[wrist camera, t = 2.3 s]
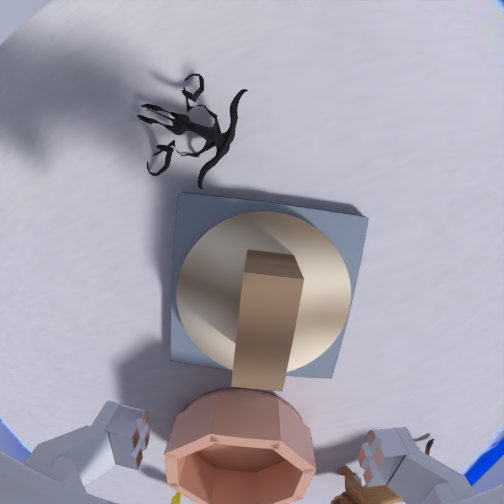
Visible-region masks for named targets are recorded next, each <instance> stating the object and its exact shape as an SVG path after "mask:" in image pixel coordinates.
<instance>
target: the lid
mask: <svg viewBox="0 0 504 504" xmlns="http://www.w3.org/2000/svg"><path fill="white" fill-rule="evenodd" d="M176 297H177V307H178V312H179V316H180V319H181V322H182V324H183V326H184V328H185V330H186V332H187V334H188V335H189V337H190V338H191V340H192V341H193V342H194V344H195V345H196V346H197V347H198V348H199V349H200V350H201V351H202V352H203V353H204V354H205V355H206V356H208V357H209V358H211V359H212V360H213V361H215V362H217V363H219V364H220V365H222V366H224V367H227V368H229V369H231V370H233V372H232V381H231V386H232V387H241V388H250V389H260V390H271V391H283V386H284V381H285V377H286V372H289V371H292V370H295V369H297V368H300V367H302V366H304V365H306V364H308V363H310V362H311V361H313V360H315V359H316V358H317V357H319V356H320V355H321V354H323V353H324V352H325V351H326V350H327V349H328V348H329V347H330V346H331V344H332V343H333V342H334V341H335V340H336V338H337V337H338V335H339V333H340V332H341V330H342V328H343V326H344V324H345V322H346V319H347V316H348V312H349V308H350V302H351V286H350V278H349V275H348V271H347V268H346V265H345V263H344V261H343V258H342V257H341V255H340V253H339V252H338V250H337V249H336V247H335V246H334V245H333V244H332V243H331V241H330V240H329V239H328V238H327V237H326V236H325V235H324V234H322V233H321V232H320V231H319V230H318V229H317V228H315V227H314V226H312V225H311V224H309V223H307V222H305V221H303V220H301V219H299V218H297V217H294V216H291V215H288V214H284V213H279V212H270V211H258V212H249V213H244V214H240V215H237V216H234V217H231V218H228V219H226V220H225V221H223V222H221V223H219V224H217V225H216V226H214V227H213V228H211V229H210V230H209V231H208V232H206V233H205V234H204V235H203V236H202V237H201V238H200V239H199V240H198V241H197V243H196V244H195V245H194V246H193V247H192V249H191V250H190V252H189V253H188V255H187V257H186V258H185V260H184V262H183V265H182V267H181V270H180V273H179V277H178V281H177V290H176Z"/></svg>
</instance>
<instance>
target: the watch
mask: <svg viewBox="0 0 504 504" xmlns="http://www.w3.org/2000/svg"><path fill="white" fill-rule="evenodd" d="M181 496H182V494H181V493H179V492H177V494H176V495H175V496H174V497H173V499H172V502H171V504H179V503H180V497H181Z"/></svg>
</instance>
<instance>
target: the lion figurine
mask: <svg viewBox="0 0 504 504" xmlns="http://www.w3.org/2000/svg"><path fill="white" fill-rule="evenodd" d="M433 441H434V439H431V440H429V441H428V443H427V445H426V449H425V454H427V455H429V452H430V448H431V446H432V444H433ZM420 453H422V452H421V451H420ZM339 474H340V475H345V489H346V492H343V493H342V494H341V495H340V496H336V497H335V498H334V500H332V501H331V504H394V503H397V502H403V500H402V499H401V498H400V497H398V496H397V495H396V494H395V493H394V492H393V491H392V490H391V489H389V488H388V487H387V485H382V486H372V487H367V485H365V486H363V487H362V484H361V478H359V476H357V475H353V472H352V471H351V470H350V469H349V468H347V467H343V468H341V469H339Z"/></svg>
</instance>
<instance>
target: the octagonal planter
mask: <svg viewBox="0 0 504 504" xmlns="http://www.w3.org/2000/svg"><path fill="white" fill-rule="evenodd" d="M164 457H165V466H166V475H167V484H168V486H170V487H171V488H173V489H174V490H176V491H178V492H179V493H181V494H182V495H184V496H186V497H187V498H189V499H191V500H192V501H194V502H196V503H197V504H290V503H292V502H295V501H298V500H300V499H303V497H304V495H305V493H306V491H307V489H308V487H309V484H310V482H311V480H312V478H313V476H314V474H315V472H316V469H317V468H316V462H315V456H314V450H313V444H312V438H311V432H310V429H309V428H308V427H307V426H306V425H305V424H304V423H303V421H302V418H301V416H300V415H299V413H298V412H297V411H296V410H295V408H294V407H292V406H291V405H290V404H289V403H287V402H286V401H284V400H283V399H281V398H279V397H277V396H275V395H272V394H269V393H266V392H262V391H258V390H252V389H240V388H237V389H223V390H218V391H213V392H210V393H207V394H205V395H203V396H200V397H198V398H197V399H195V400H194V401H192V402H191V403H190V404H189V405H188V406H187V407H186V408H185V410H184V411H183V412H181V413H180V414H178V415H177V416H176V419H175V422H174V425H173V428H172V431H171V434H170V437H169V440H168V443H167V447H166V450H165V453H164Z"/></svg>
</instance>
